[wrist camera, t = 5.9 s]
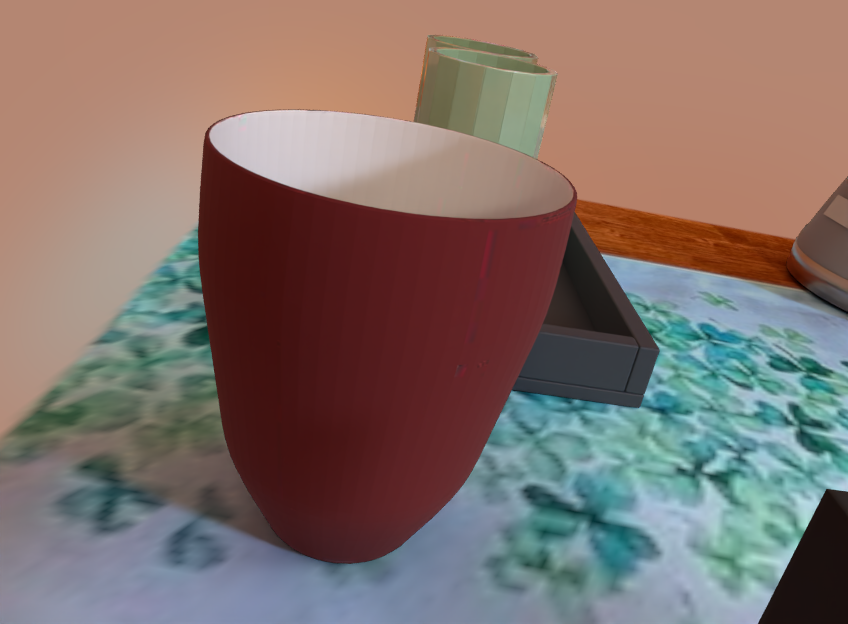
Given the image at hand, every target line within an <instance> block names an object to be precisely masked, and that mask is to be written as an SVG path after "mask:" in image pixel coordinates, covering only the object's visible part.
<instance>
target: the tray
mask: <svg viewBox="0 0 848 624" xmlns="http://www.w3.org/2000/svg"><path fill="white" fill-rule="evenodd" d="M658 354H659V348H658V346H657V345H656V343H655V341H654V340H653V338H652V337H651V335H650V333H649V332H648V330H647V328H646V327H645V325H644V324H643V322H642V320H641V319H640V317H639V315H638V314H637V312H636V311H635V309H634V307H633V306H632V304H631V303H630V301H629V299H628V298H627V296H626V294H625V293H624V291H623V290H622V288H621V286H620V285H619V283H618V281H617V280H616V278H615V277H614V275H613V273H612V272H611V270H610V268H609V267H608V265H607V264H606V262H605V260H604V259H603V257H602V255H601V254H600V252H599V251H598V249H597V247H596V246H595V244H594V243H593V241H592V239H591V238H590V236H589V234H588V233H587V231H586V230H585V228H584V226H583V225H582V223H581V221H580V220H579V218H578V217H577V215H576V213H575V212H574V216H573V220H572V224H571V228H570V233H569V237H568V241H567V245H566V250H565V253H564V257H563V261H562V265H561V268H560V272H559V276H558V280H557V284H556V287H555V290H554V294H553V297H552V300H551V303H550V306H549V309H548V312H547V314H546V317H545V319H544V322H543V324H542V327H541V329H540V331H539V333H538V336H537V338H536V340H535V342H534V344H533V346H532V349H531V351H530V353H529V355H528V357H527V359H526V361H525V363H524V365H523V367H522V369H521V371H520V374H519V376H518V378H517V380H516V382H515V384H514V386H513V388H512V390H517V391H524V392H531V393H538V394H545V395H552V396H559V397H566V398H573V399H580V400H587V401H594V402H601V403H608V404H615V405H622V406H629V407H636V408H639V407H640V405H641V403H642V400H643V397H644V395H643V394H644V393H645V391H646V388H647V385H648V382H649V379H650V376H651V374H652V371H653V368H654V365H655V362H656V359H657V357H658Z"/></svg>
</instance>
